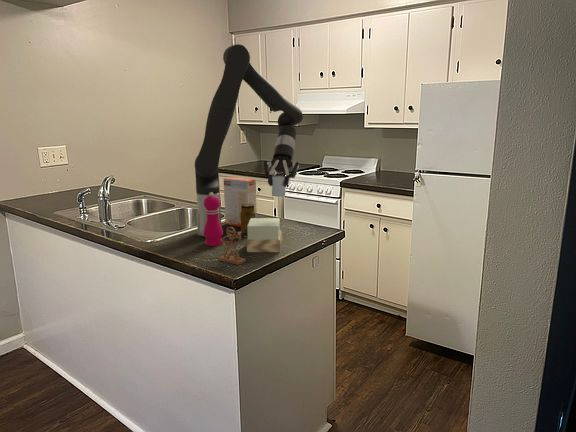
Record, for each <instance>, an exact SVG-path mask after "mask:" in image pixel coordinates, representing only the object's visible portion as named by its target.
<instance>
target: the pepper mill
mask: <svg viewBox="0 0 576 432" xmlns="http://www.w3.org/2000/svg"><path fill="white" fill-rule="evenodd" d="M204 206H205V208H206V210H205V211H206V214H207V222H206V225H205V228H204V236H203V237H205V245H206V246H209V247H217V246H219V245H223V244H222V239H223V237H222V236H223V234H224V230H223V228H222V224H221V225H220V222H219V220H218V213H219V209H218V207H219V206H220V207H221V200H220V201H219V199H218V198H217V197H215V196H214V194H213V193H212V192H210V193H209V197H207V198H205V200H204Z"/></svg>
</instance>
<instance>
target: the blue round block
mask: <svg viewBox="0 0 576 432" xmlns="http://www.w3.org/2000/svg"><path fill="white" fill-rule="evenodd" d="M285 176H286V175H285ZM285 176H284V175H274V176H272V186H271V187H272V188H271V195H272V197H278V198H279V197H284V196H286V187H284V180H285Z"/></svg>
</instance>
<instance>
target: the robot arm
mask: <svg viewBox="0 0 576 432" xmlns="http://www.w3.org/2000/svg"><path fill="white" fill-rule="evenodd" d="M222 59H223V63H224V70H223V74H222V77H221V81H220V83H219V86H218V87H217V89H216V91H215V94H214V96H213V97H212V100H211V103H210V107H209V110H208V113H207V119H206V124H205V130H204V137H203V142H202V145H201V147H200V150H199V152H198V155H197V156H196V158H195V160H194V174H195V189H196V190H195V192H196V205H197V208H196V209H197V211H196V213H195V214H196V229H197V230H196V231H197V236H200V237H205V236H204V228H205V225H206V222H207V214H206V211H205V210H206V208H205V206H204V200H205V198H207V197H209V193H210V192H212V193H213V194H214V196H215V197H217V198H218V199H219V201H220V202H221V195H220V194H221V192H220V191H221V190H220V177H219V175H220V174H219V173H220V172H219V167H220V165H219V164H220V158H221V152H222V147H223V145H224V142H225V139H226V138H227V135H228V132H229V129H230V128H231V124H232V122H233V117H234V115H235V110H236V106H237V102H238V97H239V94H240V89H241V85H242V82H245V83H246V84H247V85H248V86H249V87H250V88H251V89H252V91H254V93H255V94H256V95H257V96H258V97H259V98H260V100H261V101H263V103H264V104H265V105H266V106H267V107H268V109H270V110H271V111H272V112H274V113H275V112H281V113H280V114H279V115H278V118H277V127H278V128H277V129H278V134H277V135H278V136H277V139H276V141H275V145H274V146H275V147H274V151H273V156H272V159H271V161H267V160H264V161H263V165H264V166H263V167H264V169H263V170H264V175H265V177H266V178H268V179H267V183H268V185H269V187H272V176H277V173H280V172H281V173H285V180H284V187H285V188H287V186H289V183H290V179H295V178H296V176H297V174H298V171H299V169H300V164H299V162H298V161H296V162H294V161H293V159H294V152H295V147H296V140H297V130H296V128H295V126H297V125H299V124H300V123H301V122H302V121H303V120H304V114H303V111H302V110H301V108H300V107H298V106H297V105H296V104H294V103H293V102H291V101H290V100H288V99H286V98H285V97H284V96H283V95H282V94H281V93H280V91H279V90H278V89H277V88H276V87H275V85H273V84H272V83H271V82H270V81H268V79H266V78H265V77H264V76H263V75H262V74H260V73H259V72H258V71H257V69H256V68H255V67H254V66H253V65H252V63H251V55H250V51H249V49H248V48H247V46H245V45H243V44H239V43H237V44H233V45H230V46H229V47H227V48H226V49H225V50H224V52H223V58H222ZM270 167H271V169H270V170H269V168H270ZM291 168H292V169H291ZM289 169H291V172H289ZM218 209H219V213H218V220H219V222H220V225H221V226H222V214H221V213H222V212H221V205H220V206H219V207H218Z"/></svg>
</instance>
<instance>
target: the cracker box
mask: <svg viewBox="0 0 576 432" xmlns="http://www.w3.org/2000/svg"><path fill="white" fill-rule="evenodd" d="M256 183H257V181H256V179H255V178H245V177H237V176H229V177H224V178H223V198H224V221H225V223H224V224H225V225H229V226H232V227H233V226H234V227H238V228H241V211H242V210H241V206H242V205H243V204H253V205H254V211H255V216H256V218H258V214H257V210H258V209H257V184H256Z"/></svg>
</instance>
